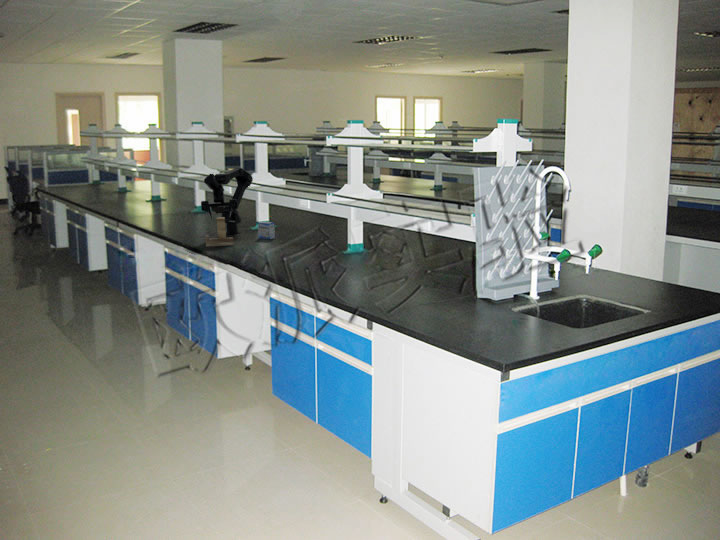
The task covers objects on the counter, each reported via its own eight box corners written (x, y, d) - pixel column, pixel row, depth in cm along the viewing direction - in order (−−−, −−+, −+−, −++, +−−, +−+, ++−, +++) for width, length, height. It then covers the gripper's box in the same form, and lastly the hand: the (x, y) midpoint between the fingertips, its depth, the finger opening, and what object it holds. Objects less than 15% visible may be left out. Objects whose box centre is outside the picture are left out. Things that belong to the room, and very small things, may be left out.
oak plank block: (218, 240, 362) (216, 217, 359) (226, 240, 362) (224, 217, 360) (218, 241, 358) (216, 218, 355) (226, 241, 359) (224, 218, 356)
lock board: (206, 241, 367) (205, 235, 366) (232, 240, 370) (232, 233, 369) (205, 246, 354) (205, 239, 353) (233, 244, 356) (233, 238, 356)
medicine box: (258, 238, 373) (257, 222, 371) (263, 237, 376) (262, 221, 374) (270, 239, 369) (269, 223, 367) (275, 238, 373) (274, 222, 371)
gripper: (236, 202, 380) (238, 225, 372) (201, 204, 376) (203, 227, 368) (235, 189, 370) (238, 213, 363) (200, 191, 367) (201, 215, 359)
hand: (220, 217), depth 363 cm, fingers open, 9 cm apart
